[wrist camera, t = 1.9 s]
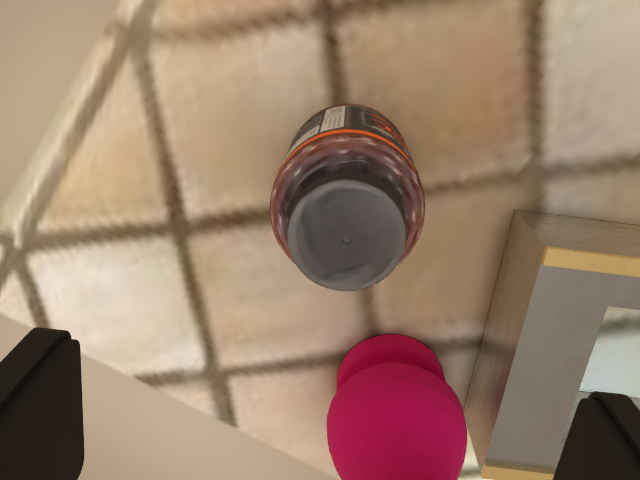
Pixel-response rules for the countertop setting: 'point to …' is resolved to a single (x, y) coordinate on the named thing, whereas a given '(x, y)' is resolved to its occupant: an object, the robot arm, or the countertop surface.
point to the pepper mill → (395, 414)
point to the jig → (545, 337)
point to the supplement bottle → (347, 199)
